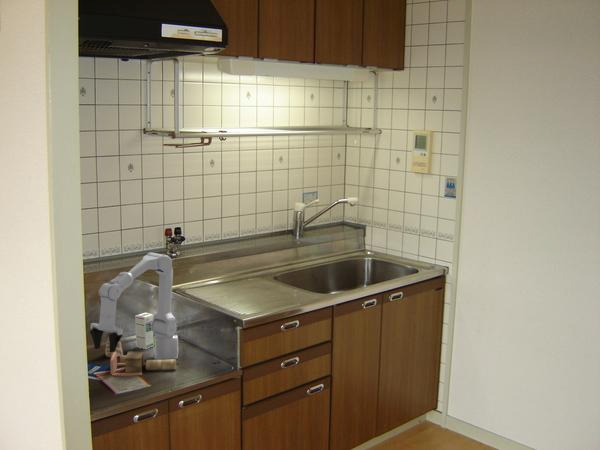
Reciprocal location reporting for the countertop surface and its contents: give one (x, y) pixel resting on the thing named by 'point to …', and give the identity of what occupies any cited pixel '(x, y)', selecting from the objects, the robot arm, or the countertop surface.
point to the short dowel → (122, 358)
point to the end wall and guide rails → (114, 364)
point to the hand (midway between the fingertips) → (104, 350)
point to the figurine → (118, 349)
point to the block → (134, 362)
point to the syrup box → (144, 331)
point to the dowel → (161, 364)
